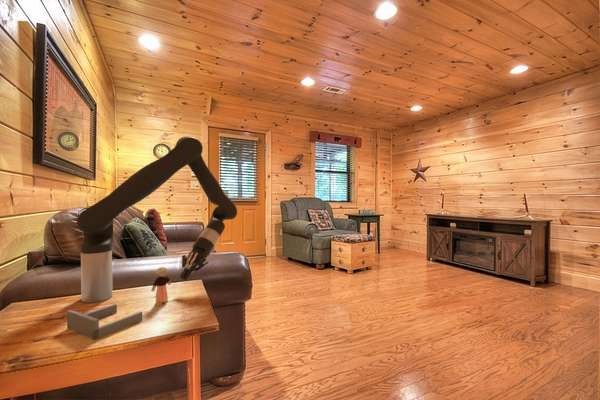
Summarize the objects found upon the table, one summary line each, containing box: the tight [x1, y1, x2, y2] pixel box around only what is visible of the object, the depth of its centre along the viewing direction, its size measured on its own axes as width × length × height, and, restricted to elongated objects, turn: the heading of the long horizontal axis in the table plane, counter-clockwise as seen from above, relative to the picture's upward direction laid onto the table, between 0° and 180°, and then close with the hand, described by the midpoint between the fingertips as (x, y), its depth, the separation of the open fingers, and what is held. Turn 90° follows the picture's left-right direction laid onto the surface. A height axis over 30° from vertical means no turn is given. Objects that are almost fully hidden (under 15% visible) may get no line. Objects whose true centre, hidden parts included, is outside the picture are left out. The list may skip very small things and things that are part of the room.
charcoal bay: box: [66, 303, 143, 341], centre depth 83 cm, size 14×13×5 cm
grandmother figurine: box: [150, 266, 172, 307], centre depth 99 cm, size 8×4×13 cm, turn 168°
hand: (182, 279), depth 107 cm, fingers closed
